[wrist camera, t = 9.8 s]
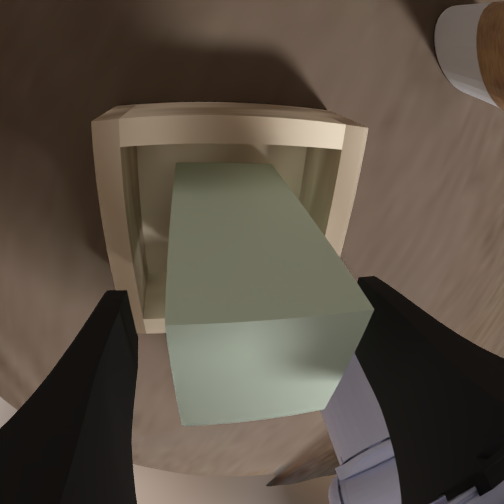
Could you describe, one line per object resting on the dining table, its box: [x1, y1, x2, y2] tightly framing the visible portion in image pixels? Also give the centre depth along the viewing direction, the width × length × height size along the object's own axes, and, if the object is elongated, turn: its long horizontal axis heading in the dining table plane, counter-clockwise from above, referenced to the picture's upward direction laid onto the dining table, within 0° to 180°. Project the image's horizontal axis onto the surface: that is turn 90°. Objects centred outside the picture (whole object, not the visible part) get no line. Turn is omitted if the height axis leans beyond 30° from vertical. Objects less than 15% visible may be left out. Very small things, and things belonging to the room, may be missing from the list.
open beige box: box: [91, 102, 368, 334], centre depth 14 cm, size 10×10×4 cm
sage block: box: [165, 162, 374, 426], centre depth 12 cm, size 4×4×10 cm
